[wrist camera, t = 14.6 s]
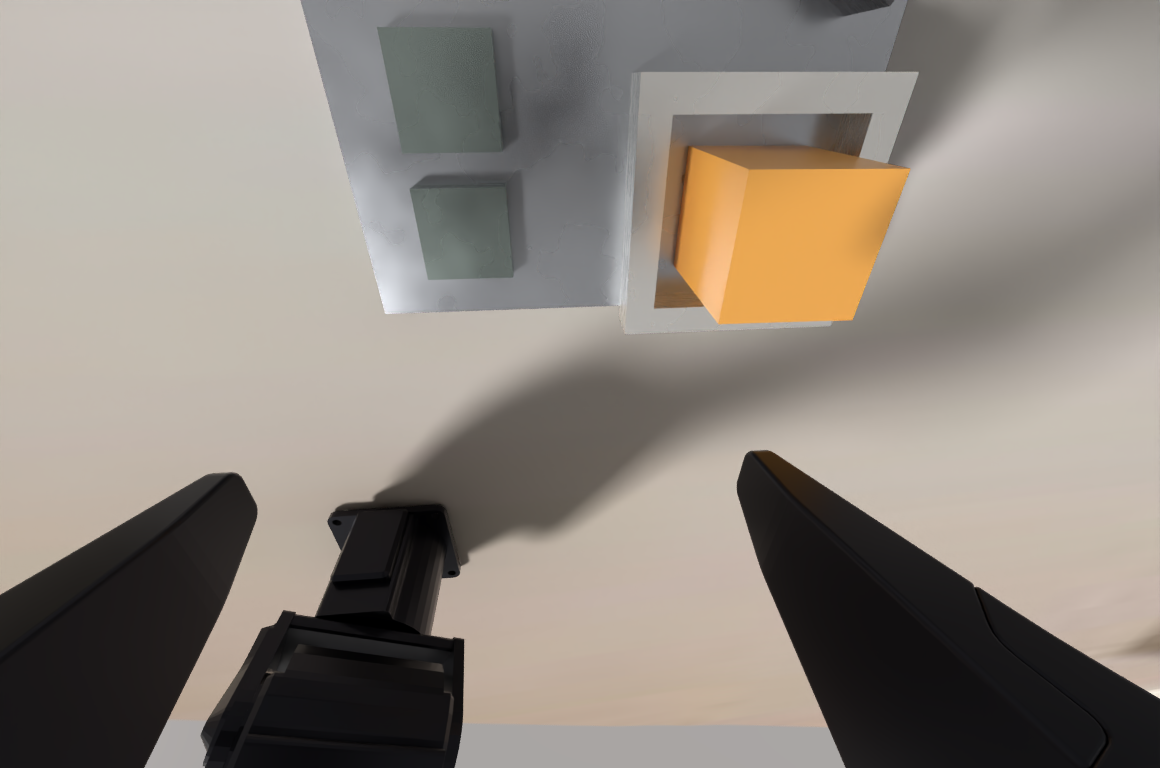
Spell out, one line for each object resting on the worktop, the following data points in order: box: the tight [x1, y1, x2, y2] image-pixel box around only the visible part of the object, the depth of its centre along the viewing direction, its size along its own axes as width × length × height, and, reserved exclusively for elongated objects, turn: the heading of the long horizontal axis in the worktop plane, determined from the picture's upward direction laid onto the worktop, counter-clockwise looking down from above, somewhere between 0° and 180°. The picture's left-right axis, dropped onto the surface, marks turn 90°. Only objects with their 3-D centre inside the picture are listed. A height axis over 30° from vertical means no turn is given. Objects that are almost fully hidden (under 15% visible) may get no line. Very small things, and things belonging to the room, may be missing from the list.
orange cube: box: [674, 146, 910, 324], centre depth 14 cm, size 4×4×5 cm
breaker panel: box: [301, 0, 919, 334], centre depth 13 cm, size 16×17×4 cm
